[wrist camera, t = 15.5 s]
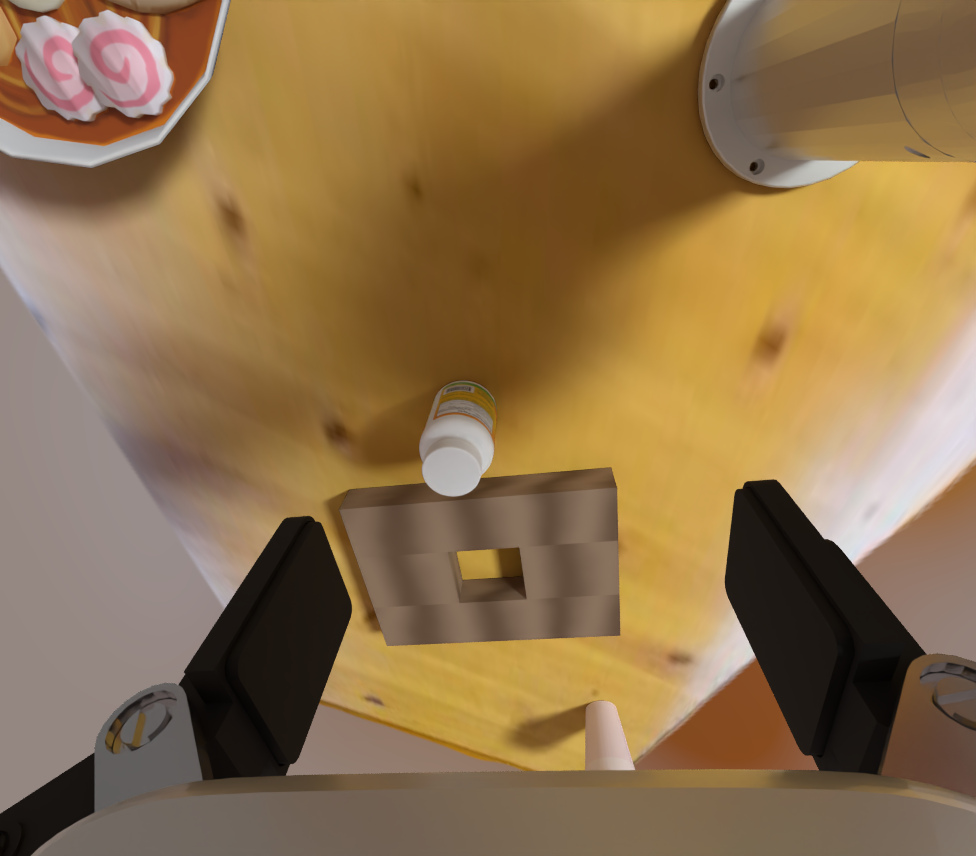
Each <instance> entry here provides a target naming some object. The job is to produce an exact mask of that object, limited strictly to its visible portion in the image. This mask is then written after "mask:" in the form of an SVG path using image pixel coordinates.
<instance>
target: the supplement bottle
mask: <svg viewBox="0 0 976 856" xmlns="http://www.w3.org/2000/svg"><path fill="white" fill-rule="evenodd" d="M496 421H497V407H496V403H495V400H494V398H493V396H492V395H491V394H490V392H489V391H488V390H487V389H486V388H484V387H483V386H481V385H480V384H478V383H475V382H471V381H455V382H452V383H449V384H447V385H446V386H444V387H443V388H442V389H441V390H440V391H439V392H438V393H437V395H436V397H435V399H434V401H433V404H432V407H431V410H430V413H429V416H428V419H427V421H426V424H425V427H424V430H423V433H422V436H421V439H420V444H419V452H420V457H421V460H422V462H423V465H422V475H423V478H424V480H425V482H426V483H427V485H428V486H429V487H430V488H431V489H432V490H434V491H435V492H437V493H439V494H442V495H445V496H461V495H464V494H467V493H469V492H470V491H472V490H473V489H474V488H475V487H476V486H477V485H478V483H479V481H480V478H481V475H482V474H483V473H484V472H485V471H486V470H487V469H488V467H489V466H490V464H491V462H492V459H493V454H494V444H495V432H496Z"/></svg>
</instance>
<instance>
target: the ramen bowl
mask: <svg viewBox="0 0 976 856" xmlns="http://www.w3.org/2000/svg"><path fill="white" fill-rule="evenodd" d="M230 1H231V0H0V151H1V152H2V153H4V154H6V155H8V156H10V157H12V158H19V159H27V160H35V161H42V162H50V163H57V164H65V165H72V166H80V167H88V168H93V167H96V166H99V165H102V164H105V163H108V162H110V161H113V160H116V159H119V158H122V157H125V156H127V155H130V154H133V153H136V152H139V151H142V150H144V149H147V148H150V147H153V146H156V145H159V144H160V143H161V142H162V141H163V140H164V138H165V137H166V136H167V134H168V133H169V132H170V131H171V129H172V128H173V127H174V125H175V124H176V123H177V122H178V120H179V119H180V118H181V117H182V115H183V114H184V113H185V111H186V110H187V109H188V108H189V106H190V105H191V104H192V102H193V101H194V100H195V99H196V97H197V96H198V95H199V93H200V92H201V91H202V90H203V88H204V87H205V86H206V84H207V83H208V82H209V80H210V79H211V77H212V75H213V72H214V68H215V64H216V60H217V56H218V52H219V47H220V43H221V39H222V35H223V31H224V26H225V22H226V18H227V14H228V10H229V6H230Z"/></svg>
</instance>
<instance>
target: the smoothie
mask: <svg viewBox="0 0 976 856" xmlns="http://www.w3.org/2000/svg"><path fill="white" fill-rule="evenodd" d="M585 770H635V768H634V765H633V762H632V759H631V755H630V752H629V749H628V745H627V742H626V739H625V735H624V732H623V729H622V725H621V722H620V719H619V715H618V712H617V709H616V706H615V705H614V704H612V703H611V702H608V701H595V702H592V703H590V704H589V705H588V706H587V707H586V732H585Z"/></svg>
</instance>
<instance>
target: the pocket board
mask: <svg viewBox="0 0 976 856" xmlns="http://www.w3.org/2000/svg"><path fill="white" fill-rule="evenodd" d="M339 511H340V514H341V517H342V520H343V523H344V525H345V528H346V531H347V534H348V537H349V540H350V542H351V545H352V548H353V551H354V554H355V557H356V559H357V562H358V565H359V568H360V571H361V573H362V576H363V579H364V582H365V585H366V588H367V590H368V593H369V596H370V599H371V602H372V605H373V607H374V610H375V613H376V616H377V619H378V622H379V624H380V627H381V630H382V633H383V636H384V639H385V641H386V644H387V646H398V645H420V644H442V643H464V642H486V641H508V640H531V639H553V638H575V637H597V636H619V635H620V604H619V558H618V513H617V486H616V483H615V479H614V476H613V472H612V469H611V468H599V469H588V470H576V471H564V472H552V473H540V474H528V475H517V476H505V477H493V478H481V479H480V481H479V483H478V485H477V486H476V487H475V488H474V489H473V490H472V491H470V492H469V493H467V494H464V495H461V496H445V495H442V494H439V493H437V492H435V491H434V490H432V489H431V488H430V487H429V486H428V485H427V483H422V484H410V485H398V486H386V487H375V488H363V489H351V490H349V491H348V493H347V495H346V497H345V499H344V501H343V503H342V505H341V507H340V509H339ZM516 547H519V549H520V556H521V563H522V569H523V577H507V578H490V579H473V580H462V575H461V571H460V567H459V562H458V558H457V553H456V551H471V550H486V549H501V548H516Z"/></svg>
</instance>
